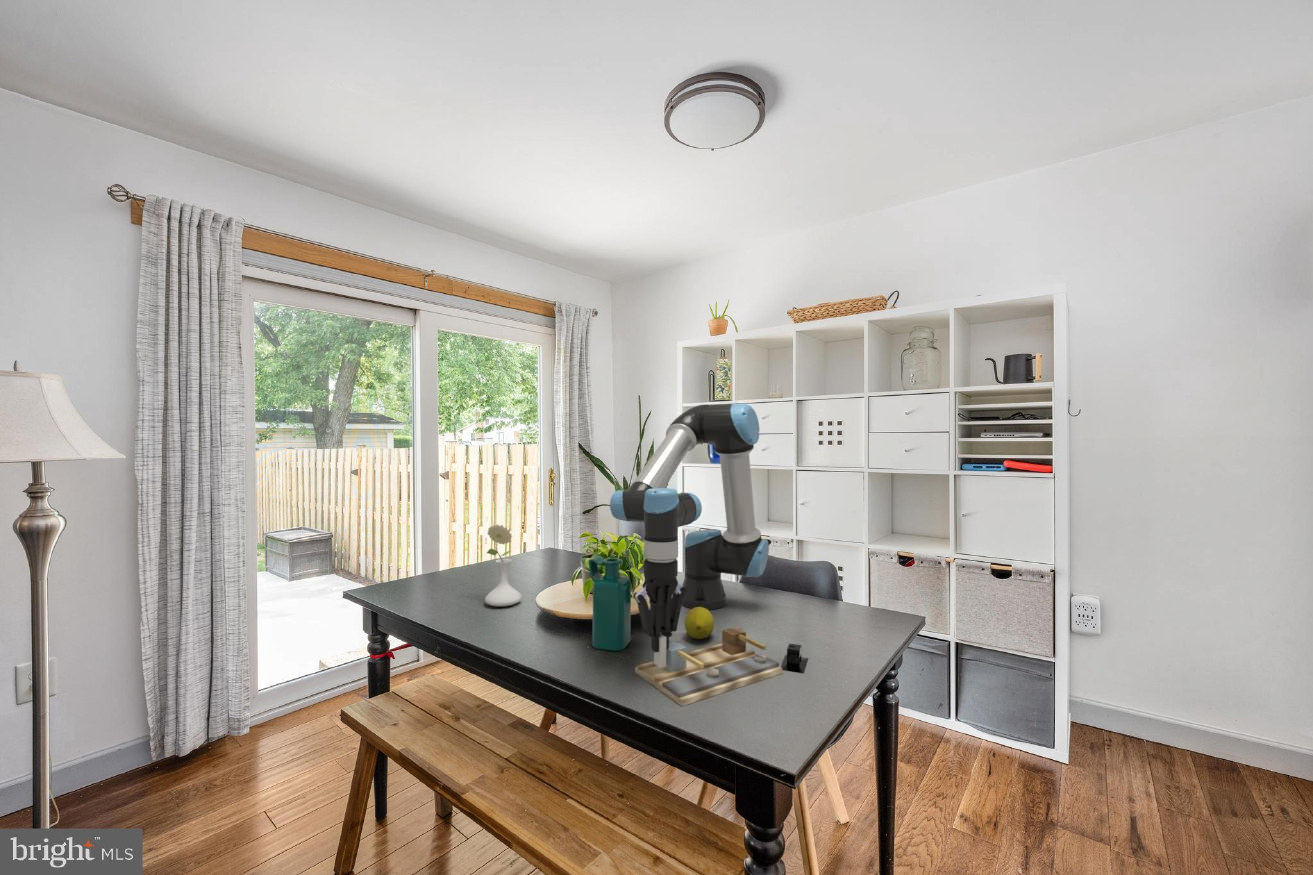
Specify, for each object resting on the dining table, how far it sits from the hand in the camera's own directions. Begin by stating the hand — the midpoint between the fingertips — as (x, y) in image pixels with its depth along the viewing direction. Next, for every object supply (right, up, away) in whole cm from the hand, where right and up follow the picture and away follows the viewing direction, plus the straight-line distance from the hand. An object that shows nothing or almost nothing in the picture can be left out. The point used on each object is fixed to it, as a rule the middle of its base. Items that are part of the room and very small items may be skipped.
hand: (660, 664), depth 120 cm
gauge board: (+11, -3, +2) cm, 12 cm away
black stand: (+32, -4, +8) cm, 33 cm away
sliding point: (+5, -1, -2) cm, 6 cm away
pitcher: (-13, -3, +19) cm, 23 cm away
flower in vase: (-50, -3, +52) cm, 72 cm away
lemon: (+10, -3, +23) cm, 26 cm away
